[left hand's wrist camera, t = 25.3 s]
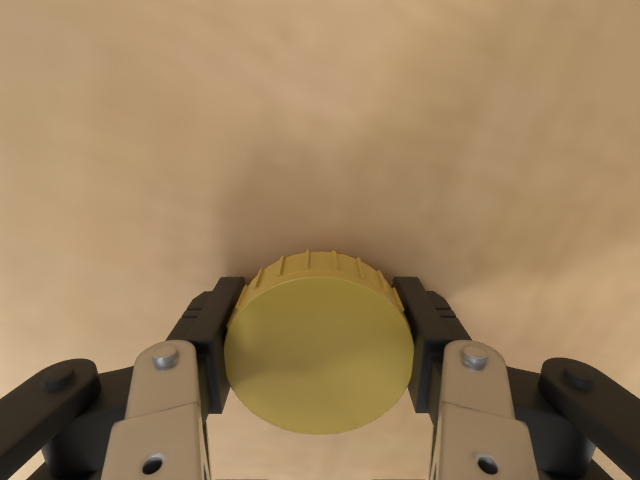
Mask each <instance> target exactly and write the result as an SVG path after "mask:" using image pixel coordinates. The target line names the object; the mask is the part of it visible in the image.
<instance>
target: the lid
mask: <svg viewBox="0 0 640 480" xmlns="http://www.w3.org/2000/svg"><path fill="white" fill-rule="evenodd" d="M403 311H404V308H403V305H402V303H401V301H400V298H399V296H398V294H397V291H396V289H395V287H393V288H391V286H390V285H389V284H388V282H387V281H386V280H385V279H384V278H383V275H382V273H381V271H380V270H378V271H376V270H374V269H373V268H371V267H370V266H369V265H367V264H365V263H363V262H361V258H359V257H357V258H356V259H355V258H352V257H350V256H347V255H343V254H339V253H336V250H332V252H324V251H318V252H310V250H306V252H305V253H299V254H295V255H292V256H288V257H286V258H285V256H281V257H280V260H278V261H277V262H275V263H273V264H271V265H270V266H268V267H267V268H265V269H263V268H261V269H260V270H259V272H258V275H257V276H256V277H255V278H254V279H253V280H252V281H251V283H250V284H249V285H248V286H247V285H245V286H244V288H243V290H242V293H241V295H240V297H239V300H238V302H237V304H236V306H235V308H234V311H233V313H232V315H231V317H230V320H229V322H228V324H227V330H228V331H227V334H226V337H225V341H224V357H225V366H226V374H227V379H228V381H229V384H230V386H231V388H232V390H233V391H234V393H235V394H236V396H237V397H238V398H239V400H240V401H241V402H242V403H243V404H244V405H245V406H246V407H247V408H248V409H249V410H250V411H251V412H253V413H254V414H255V415H257V416H258V417H260V418H261V419H263V420H265V421H266V422H268V423H270V424H272V425H275V426H277V427H280V428H282V429H285V430H289V431H292V432H298V433H303V434H314V435H320V434H334V433H341V432H345V431H350V430H353V429H356V428H359V427H361V426H364V425H366V424H368V423H370V422H372V421H374V420H375V419H377V418H379V417H380V416H381V415H383V414H384V413H385V412H387V411H388V410H389V409H390V408H391V407H392V406H393V405H394V404H395V403H396V402H397V401H398V400H399V398H400V397H401V396H402V395H403V393H404V391H405V389H406V388H407V386H408V384H409V381H410V379H411V373H412V365H413V356H414V341H413V337H412V334H411V329H410V326H409V324H408V321H407V319H406V317H405V314H404V312H403Z"/></svg>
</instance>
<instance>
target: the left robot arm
mask: <svg viewBox="0 0 640 480" xmlns="http://www.w3.org/2000/svg"><path fill="white" fill-rule="evenodd" d="M245 285H246V284H245V279H244V277H221V278H220V279H219V281H218V283H217V284H216V286H215V288H214V290H213V291H204V292H203V293H202V294H200V295H199V296H197V297H196V298H194V299H193V300H192V302H191V303H190V305H189V306H188V308H187V310H186V311H185V312H184V314H183V315H182V318H180V320H179V321H178V323H177V324H176V325H175V327H174V328H173V330H172V331H171V333H170V334H169V336H168V337H167V339H166V340H165V341H164V342H160V343H157V344H155V345H153V346H151V347H149V348H147V349H146V350H144V351H143V352H142V353H141V354H140V355H139V356H138V357H137V359H136V361H135V364H134V366H131V367H128V368H124V369H120V370H115V371H110V372H105V373H101V374H98V371H97V368H96V365H95V363H94V362H93V361H91V360H88V359H71V360H66V361H62V362H59V363H56V364H53V365H51V366H49V367H47V368H45V369H43V370H41V371H40V372H38V373H37V374H35V375H34V376H32V377H31V378H29V379H28V380H27V381H25V382H24V383H22V384H21V385H20V386H18V387H17V388H15V389H14V390H12V391H11V392H10V393H8V394H7V395H5V396H4V397H3V398H1V399H0V480H8V479H9V478H10V477H11V476H12V475H13V474H14V473H15V472H16V471H17V470H18V469H20V468H21V467H22V466H23V465H24V464H25V463H26V462H27V461H28V460H29V459H30V458H32V457H33V456H34V455H35V454H36V453H37V452H38V451H39V450H40V449H41V451H42V453H43V456H44V459H45V462H44V463H43V464H42V465H41V466H40V467H39V468H38V469H37V470H36V471H35V472H34V473H33V474H32V475H31V476H30V477H29V478H28V479H26V480H212V476H211V464H210V453H209V441H208V431H207V424H206V419H207V416H208V414H222V411H223V408H224V405H225V402H226V399H227V396H228V393H229V390H230V387H231V386H230V384H229V381H228V379H227V374H226V366H225V357H224V341H225V337H226V334H227V331H228V330H227V324H228V322H229V320H230V317H231V315H232V313H233V311H234V308H235V306H236V304H237V302H238V300H239V297H240V295H241V293H242V290H243V288H244V286H245ZM393 287H395V289H396V291H397V294H398V296H399V298H400V301H401V303H402V305H403V308H404V311H403V312H404V314H405V317H406V319H407V321H408V324H409V326H410V329H411V334H412V337H413V341H414V356H413V365H412V373H411V379H410V381H409V384H408V386H407V387H408V390H409V393H410V396H411V399H412V403H413V406H414V409H415V412H416V413H429V415H430V417H431V420H432V423H433V431H432V441H431V453H430V464H429V476H428V480H613V479H612V478H611V477H610V476H609V475H608V474H607V473H606V472H605V471H604V470H603V469H602V468H601V467H600V466H599V465H598V464H597V463H596V462H595V461H594V460H593V459H592V456H593V453H594V451H595V448H596V447H598V448H599V449H600V450H601V451H602V452H603V453H604V454H605V455H606V456H607V457H608V458H610V459H611V460H612V461H613V462H614V463H615V464H616V465H617V466H618V467H619V468H620V469H621V470H623V471H624V472H625V473H626V474H627V475H628V476H629V477H630V478H631V479H632V480H640V399H639V398H637V397H636V396H635V395H633V394H632V393H630V392H629V391H628V390H626V389H625V388H623V387H622V386H620V385H619V384H618V383H616V382H615V381H613V380H612V379H611V378H609V377H608V376H606V375H605V374H603V373H602V372H600V371H599V370H597V369H596V368H594V367H592V366H590V365H587V364H585V363H583V362H580V361H576V360H573V359H568V358H551V359H548V360H546V361H545V362H544V363H543V365H542V369H541V373H540V374H539V373H535V372H530V371H525V370H520V369H516V368H511V367H508V366H506V364H505V361H504V359H503V357H502V356H501V355H500V354H499V353H498V352H497V351H496V350H494V349H493V348H491V347H489V346H487V345H485V344H483V343H480V342H476V341H472V339H471V338H470V336H469V335H468V333H467V332H466V330H465V329H464V327H463V326H462V324H461V323H460V321H459V320H458V318H456V315H455V314H454V312H453V310H451V307H450V306H449V304H448V303H447V301H446V300H445V299H444V298H443V297H441V296H440V295H438V294H437V293H435V292H434V291H425V289H424V288H423V286H422V284H421V282H420V281H419V279H418V278H417V277H394V279H393V286H392V288H393Z"/></svg>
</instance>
